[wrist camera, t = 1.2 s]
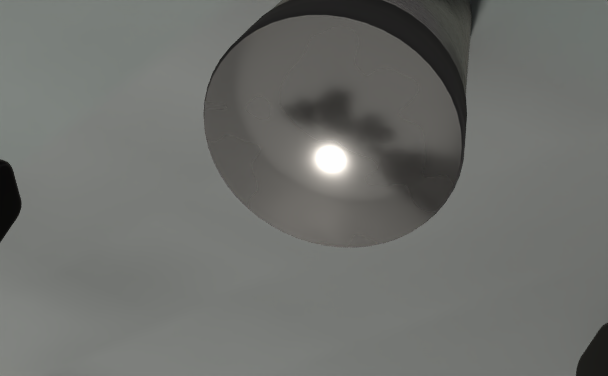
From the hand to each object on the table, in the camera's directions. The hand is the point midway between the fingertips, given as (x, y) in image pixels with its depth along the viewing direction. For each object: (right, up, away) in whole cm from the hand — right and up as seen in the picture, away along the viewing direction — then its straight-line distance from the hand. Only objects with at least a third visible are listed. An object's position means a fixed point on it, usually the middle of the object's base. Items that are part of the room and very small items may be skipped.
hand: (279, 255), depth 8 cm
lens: (+3, +6, +8) cm, 10 cm away
